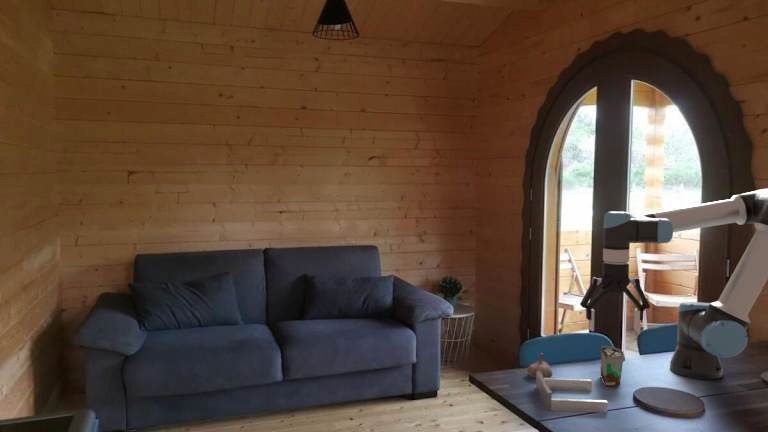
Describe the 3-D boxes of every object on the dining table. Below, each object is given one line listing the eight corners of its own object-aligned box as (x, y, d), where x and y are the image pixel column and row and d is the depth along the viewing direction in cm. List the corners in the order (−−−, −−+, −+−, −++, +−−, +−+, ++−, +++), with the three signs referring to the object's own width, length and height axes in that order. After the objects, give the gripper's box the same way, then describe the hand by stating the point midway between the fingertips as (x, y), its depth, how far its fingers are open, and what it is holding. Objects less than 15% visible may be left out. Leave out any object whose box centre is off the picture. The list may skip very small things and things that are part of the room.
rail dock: (590, 389, 179) (591, 373, 179) (607, 412, 162) (607, 395, 162) (536, 387, 181) (536, 371, 180) (546, 410, 164) (547, 392, 163)
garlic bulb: (556, 378, 188) (557, 354, 188) (540, 382, 185) (540, 357, 184) (539, 371, 195) (540, 347, 194) (522, 375, 191) (523, 351, 191)
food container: (627, 390, 178) (629, 358, 178) (606, 389, 180) (607, 356, 179) (620, 376, 190) (621, 346, 190) (599, 375, 192) (601, 344, 191)
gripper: (653, 260, 185) (651, 327, 186) (571, 260, 187) (569, 326, 188) (662, 264, 177) (660, 334, 179) (577, 263, 179) (575, 333, 181)
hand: (614, 330), depth 184 cm, fingers open, 13 cm apart
